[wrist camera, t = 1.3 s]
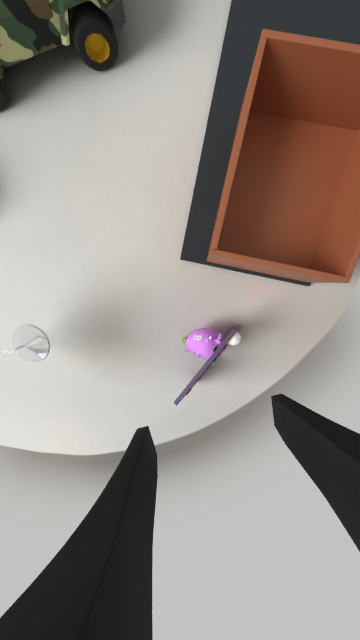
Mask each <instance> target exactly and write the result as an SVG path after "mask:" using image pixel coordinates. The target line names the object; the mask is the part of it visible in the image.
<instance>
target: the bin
mask: <svg viewBox="0 0 360 640" xmlns="http://www.w3.org/2000/svg"><path fill="white" fill-rule="evenodd" d="M359 255H360V45H358V44H352V43H346V42H340V41H334V40H328V39H322V38H316V37H310V36H304V35H298V34H292V33H286V32H280V31H274V30H268V29H263V30H262V33H261V37H260V41H259V44H258V48H257V52H256V56H255V59H254V63H253V67H252V70H251V74H250V78H249V82H248V85H247V89H246V93H245V96H244V100H243V104H242V108H241V112H240V116H239V121H238V125H237V129H236V134H235V138H234V143H233V147H232V151H231V156H230V160H229V164H228V169H227V173H226V178H225V182H224V186H223V191H222V195H221V199H220V204H219V208H218V213H217V217H216V221H215V226H214V230H213V235H212V239H211V243H210V248H209V252H208V256H207V262H212V263H216V264H221V265H226V266H231V267H236V268H240V269H245V270H250V271H255V272H259V273H264V274H269V275H274V276H279V277H283V278H288V279H293V280H298V281H302V282H334V283H348V282H349V281H350V277H351V275H352V273H353V270H354V268H355V265H356V263H357V260H358V258H359Z"/></svg>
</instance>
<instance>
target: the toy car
mask: <svg viewBox="0 0 360 640" xmlns="http://www.w3.org/2000/svg"><path fill="white" fill-rule="evenodd" d="M69 8H71V9H72V10H74V11H73V13H72V15H71V22H70V23H71V31H72V35H73V39H74V43H75V47H76V49H77V52H78V55H79V56H80V58H81V59H82V61H83V62H84V63H85V64H86V65H87V66H88V67H90V68H92V69H94V70H97V71H102V70H107V69H109V68H110V67H111V66H112V65H113V64H114V63H115V61H116V58H117V52H118V46H117V41H116V37H115V32H114V28H113V24H112V22H111V20H112V21H113V22H114V23H115V24H116V25H117V27H118V28H119V29H120V30H121V29H122V27H123V25H124V23H125V16H124V10H123V3H122V0H90V1H89V0H0V78H2V77H3V69H5V68H7V67H10V66H12V65H14V64H17V63H19V62H22V61H24V60H26V59H29V58H31V57H33V56H36V55H38V54H41V53H43V52H45V51H48V50H50V49H52V48H55V47H57V46H60V45H66V46H68V45H70V40H69V24H68V9H69ZM110 18H111V20H110ZM6 106H7V98H6V95H5V92H4V89H3V86H2V84H1V82H0V111H2V110H3V109H5V108H6Z"/></svg>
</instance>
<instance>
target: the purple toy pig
mask: <svg viewBox="0 0 360 640" xmlns="http://www.w3.org/2000/svg"><path fill="white" fill-rule="evenodd" d="M240 328H241V326H240V325H237V326H235V327H234V328H233V329H232V330H231V332H230V333H229V334H228V335H227V337H226V338H225V339H224V340H223V341H222V339H221V333H220V334H219V335H218V333H217V332H215V331H214V330H212V329H208V328H202V329H198V330H195V331H193V332H192V333H191V334H190V335H189V336H188V338H187V340H185V339H182V340H181V341H182V342H183V343H185V344H186V346H187V348H186V350H185V351H189V350H190V351H191V352H193V353H195V354H196V355H197V356H196V357H199V356H202V357H204V358H206V359H208V360H207V362H206V363H205V364H204V365H203V367H202V368H201V369H200V370H199V372H198V373H197V374H196V375H195V377H194V378H193V379H192V380H191V382H190V383H189V384H188V385H187V387H186V388H185V389H184V390H183V392H182V393H181V394H180V395H179V397H178V398H177V399H176V400H175V402H174V404H175V405H176V406H177V405H178V403H179V402H180V401H181V400H182V399H183V398H184V396H185V395H187V394H188V393H189V392H190V391H191V388H192V387H193V386H194V385H195V384H196V382H197V381H198V380H199V379H200V377H201V376H202V375H203V374H204V372H205V371H206V370H207V369H209V368H210V367H211V366H212V365H213V364H214V362H215V360H216V358H217V357H219V355H220V354H222V353H223V352H224V349H225V348H226V346H227V344H230V345H237V344H239V342H240V341H241V336H240V334H239V333H240V332H238V331H239V329H240Z"/></svg>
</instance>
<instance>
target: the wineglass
mask: <svg viewBox="0 0 360 640" xmlns="http://www.w3.org/2000/svg"><path fill="white" fill-rule="evenodd" d="M12 342H13V346H14V348H13V349H9V350H6V351H3V352H0V358H2V357H5V356H7V355H9V354H12V353H14V352H17V353H18V354H19V355H20V356H21V357H22V358H23V359H25V360H27V361H31V362H38V361H40V360H43V359H44V358H45V357H46V355H47V353H48V350H49V344H48V340H47V338H46V336H45V334H44V333H43V332H42V331H41V330H39V329H38V328H36V327H34V326H30V325H23V326H21V327H19V328H18V329H17V330H16V331H15V332H14V334H13V340H12Z"/></svg>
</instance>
